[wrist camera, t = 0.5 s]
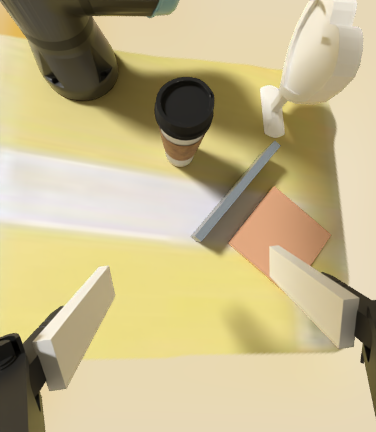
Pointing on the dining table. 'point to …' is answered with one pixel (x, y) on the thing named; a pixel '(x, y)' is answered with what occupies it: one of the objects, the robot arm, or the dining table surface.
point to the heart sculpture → (315, 60)
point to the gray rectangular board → (234, 192)
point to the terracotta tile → (278, 232)
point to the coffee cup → (183, 117)
